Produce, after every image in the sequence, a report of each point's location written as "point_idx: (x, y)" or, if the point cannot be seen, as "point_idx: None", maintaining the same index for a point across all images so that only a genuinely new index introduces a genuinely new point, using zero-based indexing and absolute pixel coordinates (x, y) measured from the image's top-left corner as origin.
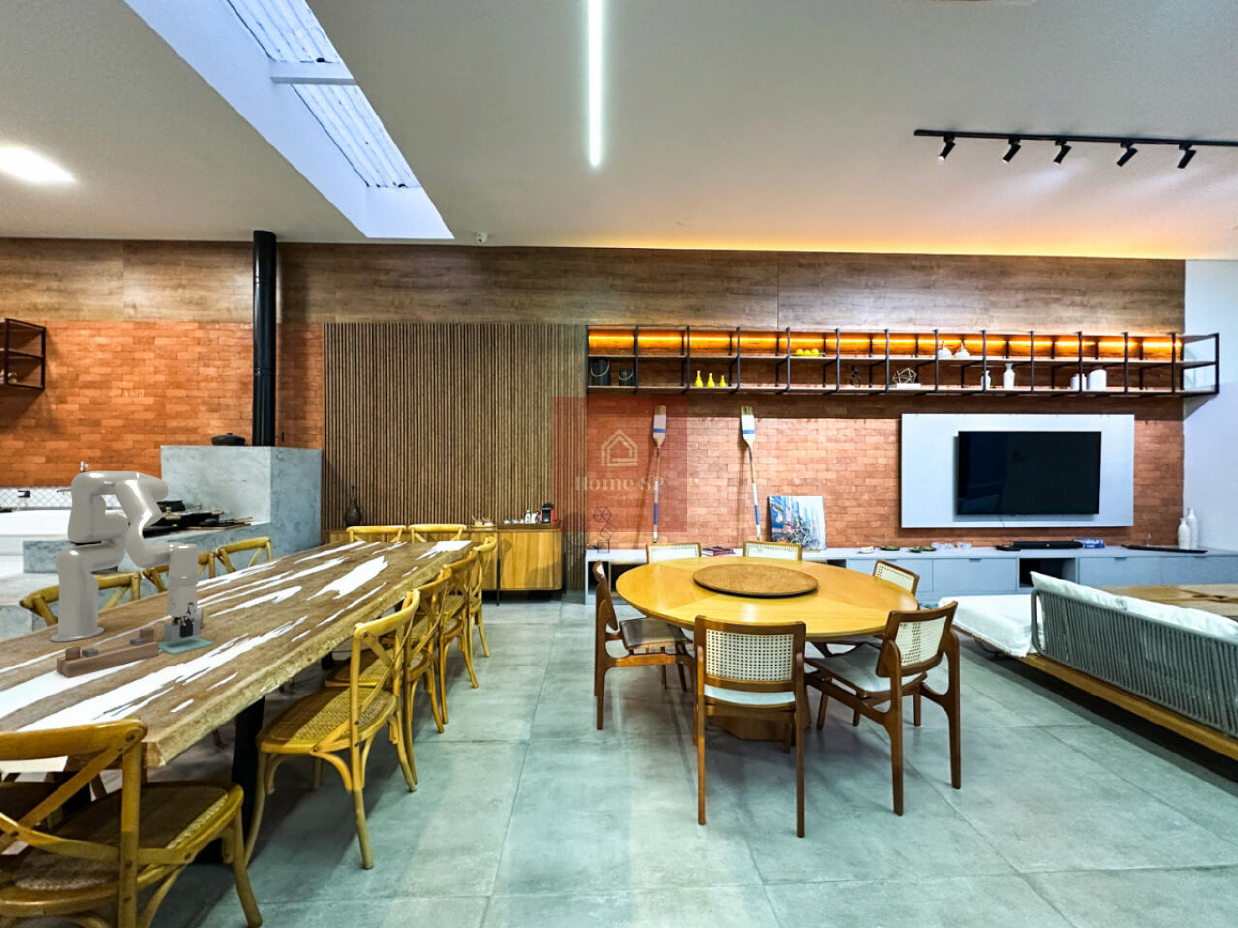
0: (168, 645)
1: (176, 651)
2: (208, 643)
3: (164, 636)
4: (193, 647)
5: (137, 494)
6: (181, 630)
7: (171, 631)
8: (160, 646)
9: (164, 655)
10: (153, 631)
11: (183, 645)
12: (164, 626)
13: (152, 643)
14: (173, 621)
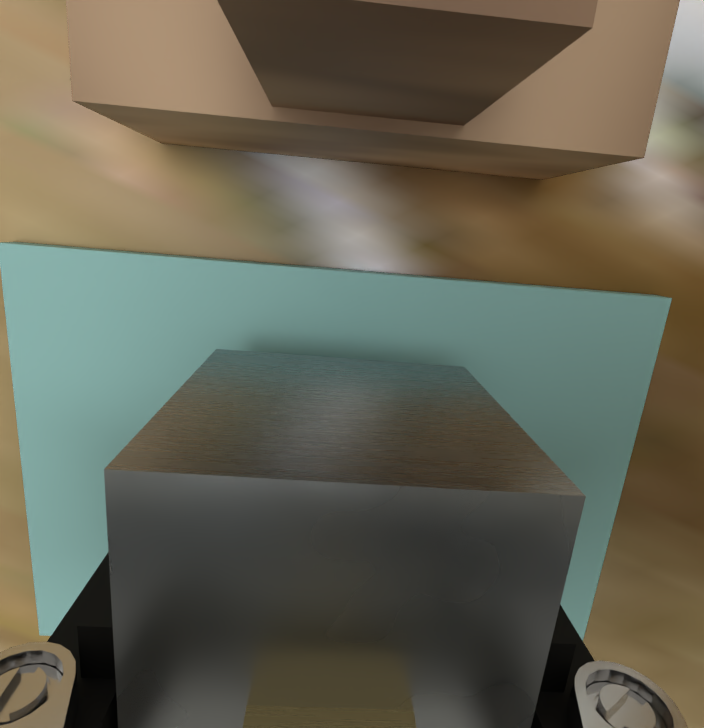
0: None
1: (38, 294)
2: (62, 601)
3: (462, 379)
4: (42, 463)
5: None
6: None
7: (165, 410)
8: (460, 313)
9: (92, 181)
10: (235, 24)
11: None
12: (543, 461)
13: (128, 16)
14: (587, 698)
